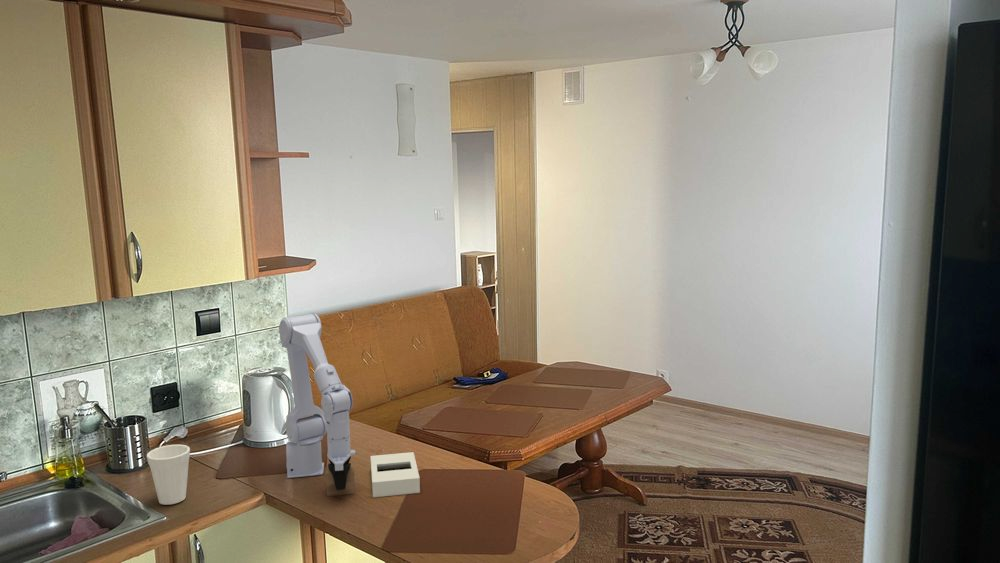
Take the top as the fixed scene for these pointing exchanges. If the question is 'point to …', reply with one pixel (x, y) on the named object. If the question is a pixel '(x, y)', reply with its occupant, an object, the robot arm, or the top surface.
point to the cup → (170, 472)
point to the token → (348, 488)
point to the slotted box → (394, 475)
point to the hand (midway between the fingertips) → (340, 486)
